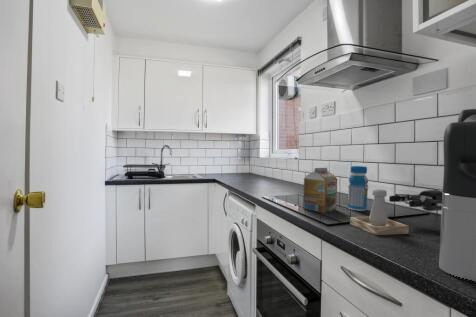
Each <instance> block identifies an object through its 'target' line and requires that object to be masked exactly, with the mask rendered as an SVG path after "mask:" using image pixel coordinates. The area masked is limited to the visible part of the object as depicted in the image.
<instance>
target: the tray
mask: <svg viewBox="0 0 476 317" xmlns="http://www.w3.org/2000/svg"><path fill="white" fill-rule="evenodd" d="M349 224H350V226H351V225H352V226H354V227H355V228H359V229H361V230H363V231H366V232H367V233H369V234H372V235H374V236H385V235H387V236H388V235H389V236H390V235H404V234H405V235H407V234H409V227H410V226H409V225H407V224H403V223H401V222H398V221H395V220H392V219H389V218H388V223H387V225H386V226H373V225H371V223H370V221H369V216H350V217H349Z"/></svg>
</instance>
